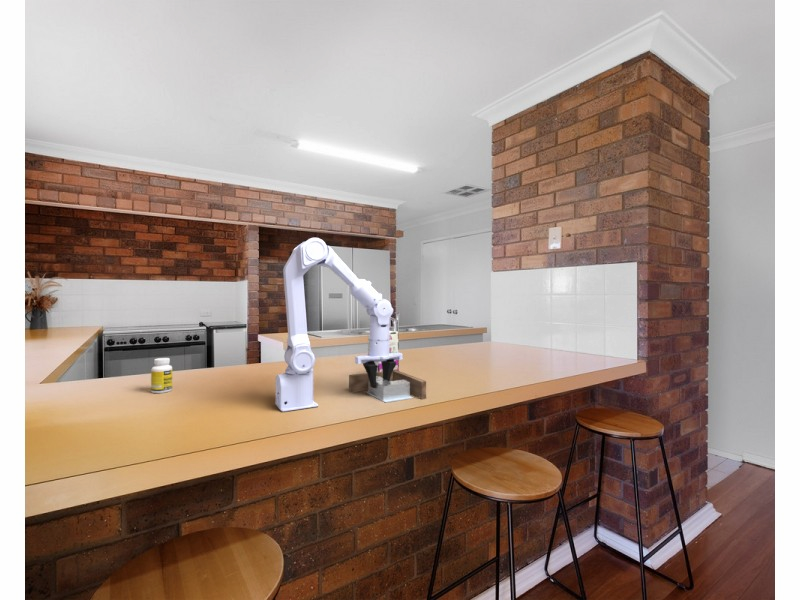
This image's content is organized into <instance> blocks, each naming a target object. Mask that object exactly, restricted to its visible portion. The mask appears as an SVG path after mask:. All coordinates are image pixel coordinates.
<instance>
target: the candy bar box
mask: <svg viewBox="0 0 800 600" xmlns="http://www.w3.org/2000/svg"><path fill="white" fill-rule="evenodd" d="M367 347H368V348H367V351H368V352H367V355H368V354H370V333H367ZM399 347H400V345H399V331H394V330H393V331H391V330H389V353H400V352H399ZM378 360H380V359H378ZM394 361H395V362H396V366H395V368H394V370H397V371H399V370H400V364H399V363H400V360H394ZM374 363H375V365H377V366H378V367H377V372H379V371H383V370H382V363H381V362H374Z"/></svg>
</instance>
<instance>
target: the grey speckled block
mask: <svg viewBox="0 0 800 600" xmlns="http://www.w3.org/2000/svg"><path fill="white" fill-rule="evenodd" d="M367 392H371V393H373V394H374V395H376V396H377V397H379V398H380V399H382V400H390V399H396V398H403V397H409V396H411V394H410V382H408V381H406V380H397V381H387V380H385V379H383V378H382V377H380V376H376V388H372V387H371V386H370V381H369V377H368V390H367Z"/></svg>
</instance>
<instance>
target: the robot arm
mask: <svg viewBox="0 0 800 600" xmlns="http://www.w3.org/2000/svg"><path fill="white" fill-rule="evenodd" d="M315 265H316V266H320V267H323V268H328V269H329V270H331V271H332V272H333V273H334V274H335V275H336V276H337V277H339V279H341V280H342V281H343V282H344V283H345V284H346V285H347V286H349V290H350V295H351V296H353V298H354V299H355V300H356V301H358V302H359V304H360V305H361V306H363V307H364V308H365V309H366V314H367V315H369V334H370V354H368V353H367V354H364V355H358V356H357V355H356V356H355V357H354V359H355V361H354V362H355V364H356V365H361V364H362V366H363V368H364V370H365V373H367V374H368V377H369V381H370V386H371V387H372V388H376V373H377V367H378V366H377V365H375V363H374V362H381V363H382V370H383V379H385V380H387V381H389V380H390V377H391V374H392V372H393V370H394V368H395V366H396V362H395V361H394V360H399V361H403V355H404V354H403V353H402V352H399V353H389V331H390V318H391V316H393V313H394V308H393V306H392V304H391V302H390V301H389V300H388V299H385V298H383V294H382V293H381V292H378V291H377V290H376V289H375V288H374V287H373V286H372V284H373V282H371V281H370V280H366V279H365V278H359V277H357V276H356V274H354V272H353V271H352V270H351V269H350V268H349V266H348V265H347V264H346V263H345V262H344V261H343V260H342V258H340V257H339V256H338V254H337V253H336V252H335V251H334V249H333V248H332V247H330V245H327V244H326V242H325V241H324V240H323V239H321V238H319V237H311V238H308V239H307V240H306V241H302V243H300V244H298V245H297V246H296V247H295V248H294V249H293V250H292V253H291V255H290V256H289V257H288V259H287V262H286V263H285V264H284V266H283V270H282V273H283V284H284V285H283V286H284V287H283V288H284V296H285V297H284V298H285V309H286V311H285V312H286V324H287V336H288V337H287V339H286V350H285V352H284V356H283V357H284V361H285V363H286V364H287V366H286V368H285V371H284V372H283V373H278V374H276V376H275V402H274V405H276V407H277V408H278V409H279V410H280V411H281V412H289V411H295V410H304V409H310V408H315V407H319V404H318V403H317V402H316V401H314V367H315V363H316V356H315V354H314V353H313V351H312V348H311V342H310V339H309V334H308V327H307V326H308V323H307V311H306V297H305V286H304V285H305V282H304V275H305V274H306V273H307V272H308V271H309V270H310V269H311V268H312V267H313V266H315ZM378 359H380V360H378Z"/></svg>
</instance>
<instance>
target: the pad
mask: <svg viewBox="0 0 800 600" xmlns="http://www.w3.org/2000/svg"><path fill="white" fill-rule="evenodd" d="M366 393H367V394H368V395H370V396H372V397H374V398H376V399H377V400H379V401H382V402H383V403H392V402H399V401H405V400H411V399H414V397H412V395H410V396H409V397H403V398H396V399H390V400H382V399H380V398H379V397H377V396H376V395H374V394H373V393H371V392H370V391H366Z"/></svg>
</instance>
